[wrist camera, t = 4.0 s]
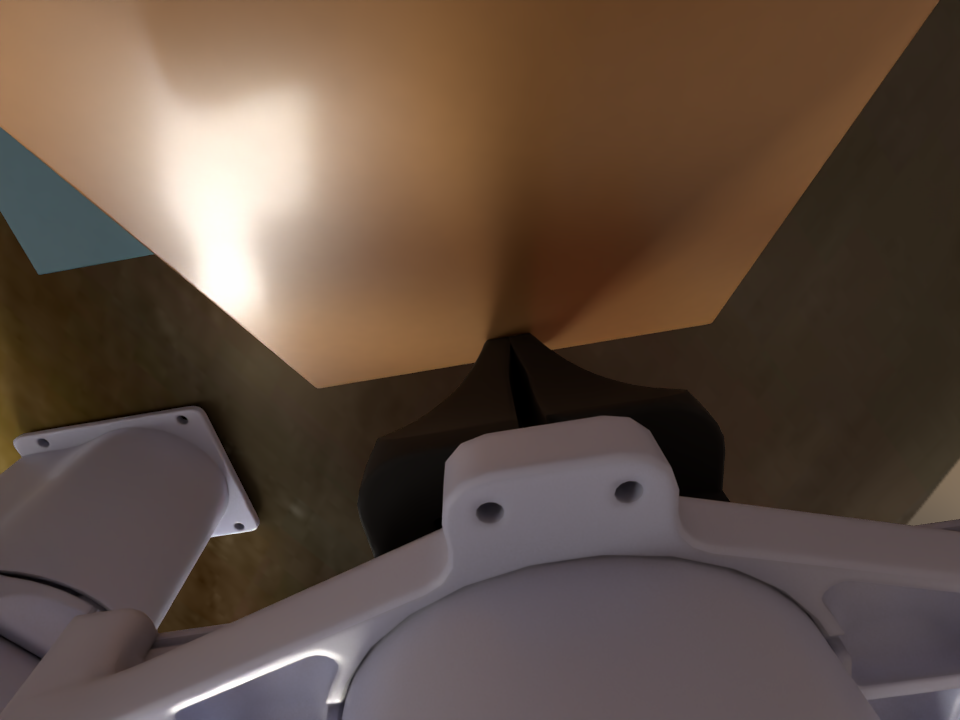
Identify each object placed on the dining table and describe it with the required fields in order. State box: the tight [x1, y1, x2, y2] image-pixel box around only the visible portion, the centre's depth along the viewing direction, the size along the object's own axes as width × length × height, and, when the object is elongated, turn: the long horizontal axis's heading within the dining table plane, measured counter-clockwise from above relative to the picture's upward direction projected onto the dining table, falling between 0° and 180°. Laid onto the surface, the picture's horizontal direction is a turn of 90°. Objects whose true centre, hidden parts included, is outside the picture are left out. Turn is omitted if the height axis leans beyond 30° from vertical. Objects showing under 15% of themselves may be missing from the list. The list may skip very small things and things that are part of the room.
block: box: [0, 127, 154, 275], centre depth 17 cm, size 4×4×4 cm
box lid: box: [0, 0, 940, 388], centre depth 10 cm, size 11×12×1 cm
